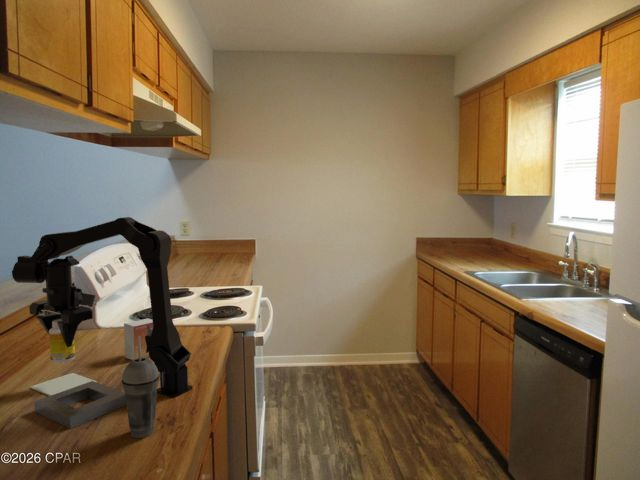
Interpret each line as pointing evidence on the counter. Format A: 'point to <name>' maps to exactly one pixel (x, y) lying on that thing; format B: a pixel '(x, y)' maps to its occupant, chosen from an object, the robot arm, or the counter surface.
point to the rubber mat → (61, 384)
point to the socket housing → (71, 417)
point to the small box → (136, 337)
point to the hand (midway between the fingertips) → (62, 344)
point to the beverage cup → (141, 394)
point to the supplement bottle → (59, 345)
